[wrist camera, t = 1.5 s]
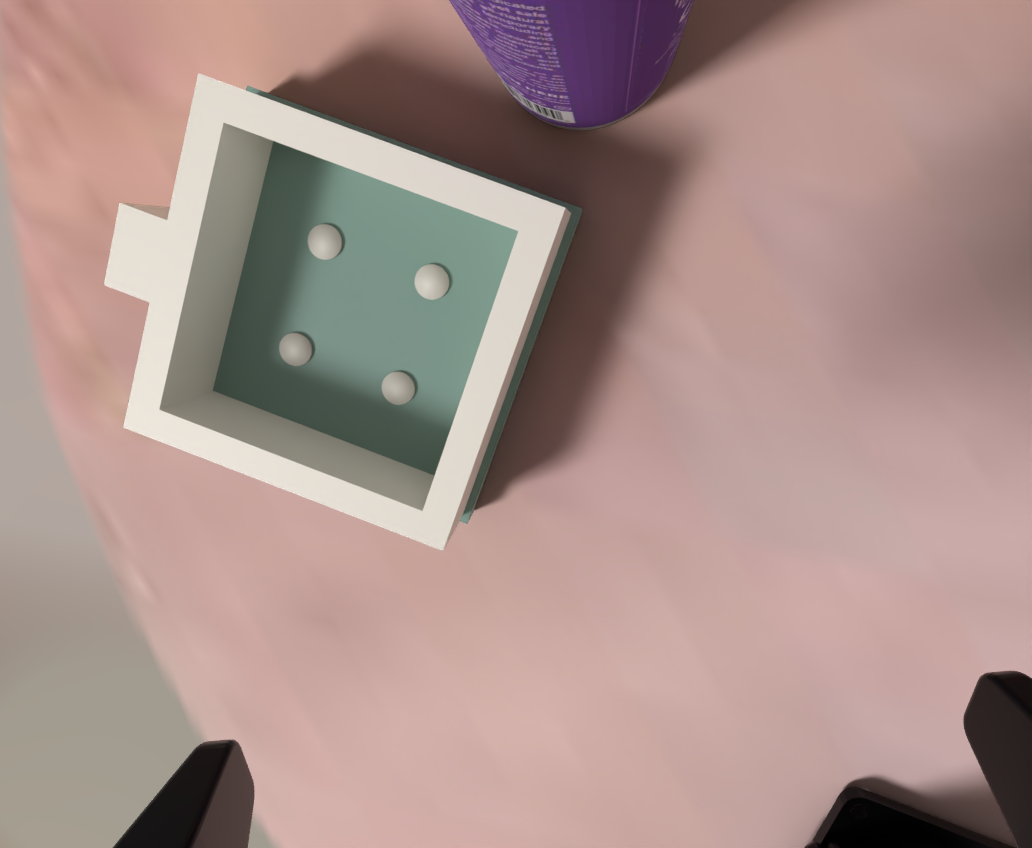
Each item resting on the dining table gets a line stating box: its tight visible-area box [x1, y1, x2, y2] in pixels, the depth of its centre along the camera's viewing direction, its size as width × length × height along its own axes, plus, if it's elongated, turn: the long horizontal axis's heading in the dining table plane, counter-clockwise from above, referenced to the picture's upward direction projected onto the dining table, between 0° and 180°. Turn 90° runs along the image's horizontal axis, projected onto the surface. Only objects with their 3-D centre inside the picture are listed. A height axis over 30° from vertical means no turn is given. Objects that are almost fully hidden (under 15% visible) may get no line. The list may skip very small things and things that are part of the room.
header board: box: [104, 73, 583, 551], centre depth 19 cm, size 10×9×4 cm
